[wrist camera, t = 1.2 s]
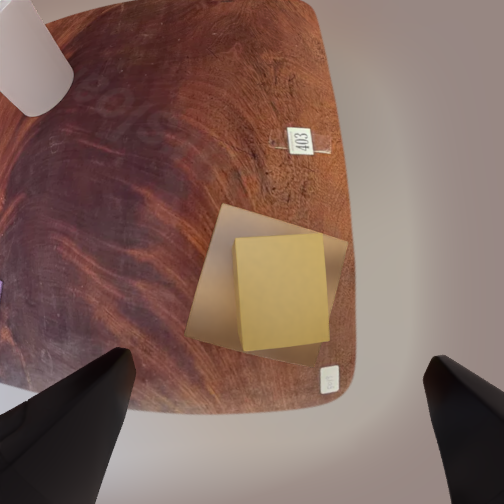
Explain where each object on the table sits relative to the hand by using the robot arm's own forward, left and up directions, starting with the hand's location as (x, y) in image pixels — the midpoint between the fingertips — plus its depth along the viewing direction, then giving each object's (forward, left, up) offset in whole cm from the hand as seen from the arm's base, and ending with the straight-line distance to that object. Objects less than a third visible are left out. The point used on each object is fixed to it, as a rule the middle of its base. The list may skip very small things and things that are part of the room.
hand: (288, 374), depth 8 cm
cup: (+17, +31, -18) cm, 40 cm away
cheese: (+2, 0, -9) cm, 9 cm away
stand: (+2, 0, -18) cm, 18 cm away
